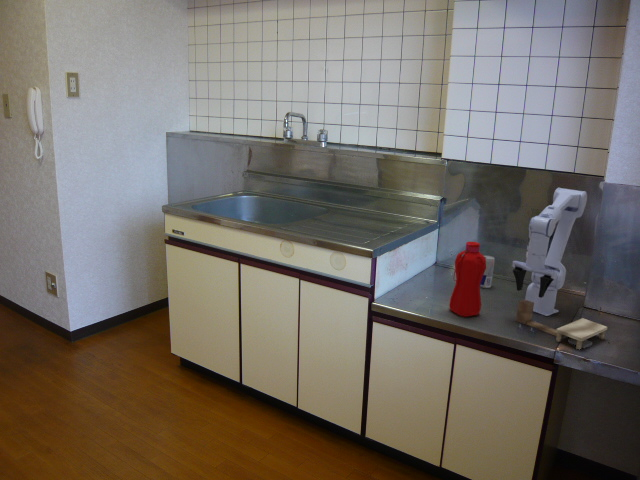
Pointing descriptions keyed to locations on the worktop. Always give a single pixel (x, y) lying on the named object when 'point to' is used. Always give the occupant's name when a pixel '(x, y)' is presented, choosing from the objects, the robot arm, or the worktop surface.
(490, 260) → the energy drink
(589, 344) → the coaster
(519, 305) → the wooden mallet
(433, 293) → the worktop surface
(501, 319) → the worktop surface
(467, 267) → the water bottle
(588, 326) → the small wooden table
